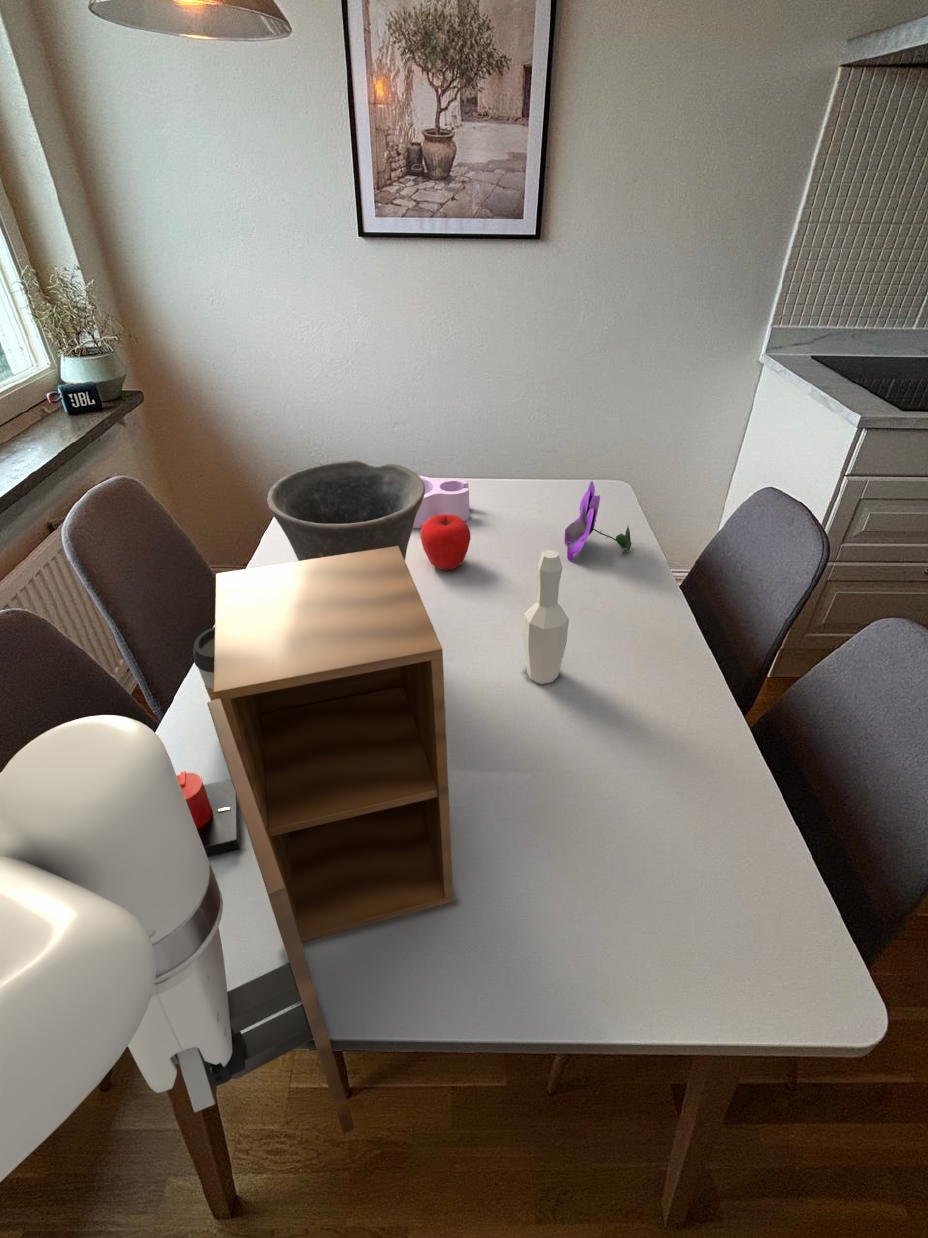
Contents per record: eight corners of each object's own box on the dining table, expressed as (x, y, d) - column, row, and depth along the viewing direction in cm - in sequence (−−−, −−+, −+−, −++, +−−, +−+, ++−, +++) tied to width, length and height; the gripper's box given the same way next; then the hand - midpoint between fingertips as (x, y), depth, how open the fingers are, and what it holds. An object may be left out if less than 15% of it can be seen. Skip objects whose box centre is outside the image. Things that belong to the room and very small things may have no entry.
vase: (272, 665, 111) (233, 496, 94) (362, 604, 125) (343, 447, 108) (372, 719, 101) (349, 540, 83) (458, 645, 115) (454, 479, 97)
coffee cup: (203, 733, 99) (176, 652, 90) (236, 697, 105) (214, 617, 96) (253, 746, 96) (230, 664, 88) (283, 708, 103) (265, 628, 94)
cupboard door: (269, 1179, 56) (144, 948, 36) (223, 983, 69) (113, 731, 49) (354, 1128, 59) (285, 887, 38) (295, 949, 72) (220, 697, 51)
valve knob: (212, 826, 83) (201, 794, 80) (174, 835, 82) (161, 803, 79) (213, 798, 86) (202, 767, 83) (176, 806, 85) (163, 775, 82)
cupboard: (453, 901, 76) (442, 648, 56) (290, 946, 73) (213, 692, 52) (417, 782, 91) (398, 545, 70) (280, 814, 87) (215, 573, 66)
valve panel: (240, 850, 82) (236, 838, 81) (152, 870, 80) (147, 859, 79) (238, 788, 90) (235, 777, 89) (159, 805, 88) (154, 794, 87)
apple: (412, 564, 137) (409, 515, 130) (449, 548, 142) (448, 500, 135) (443, 584, 131) (441, 533, 124) (480, 566, 135) (480, 517, 129)
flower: (606, 555, 148) (553, 529, 145) (648, 500, 140) (592, 471, 137) (616, 592, 136) (558, 564, 133) (662, 534, 128) (601, 503, 125)
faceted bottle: (514, 670, 109) (518, 550, 96) (545, 656, 112) (553, 538, 99) (539, 692, 105) (546, 570, 92) (570, 677, 108) (582, 557, 95)
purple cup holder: (468, 501, 160) (467, 474, 155) (469, 526, 149) (469, 497, 145) (382, 503, 159) (380, 476, 155) (378, 529, 149) (375, 500, 145)
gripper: (84, 821, 44) (162, 970, 54) (64, 1085, 31) (170, 1210, 42) (206, 786, 46) (258, 936, 56) (231, 1021, 34) (292, 1155, 44)
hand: (220, 1052), depth 49 cm, fingers closed on cupboard door, 2 cm apart
